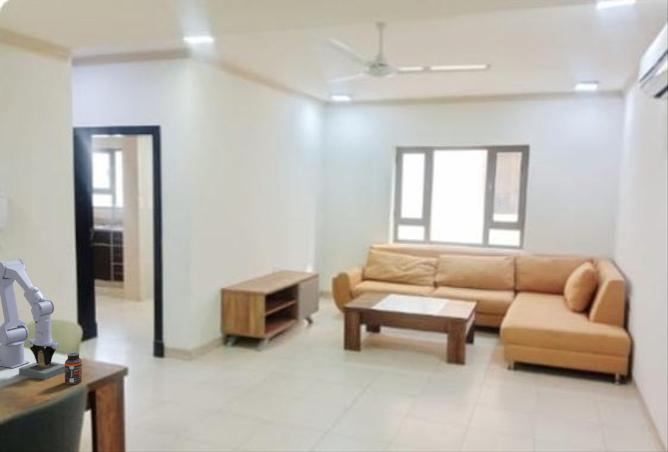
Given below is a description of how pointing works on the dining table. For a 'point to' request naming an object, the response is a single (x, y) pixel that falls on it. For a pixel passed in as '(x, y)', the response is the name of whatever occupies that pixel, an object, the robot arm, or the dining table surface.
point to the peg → (41, 361)
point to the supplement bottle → (73, 369)
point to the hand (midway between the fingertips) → (43, 363)
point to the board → (42, 370)
